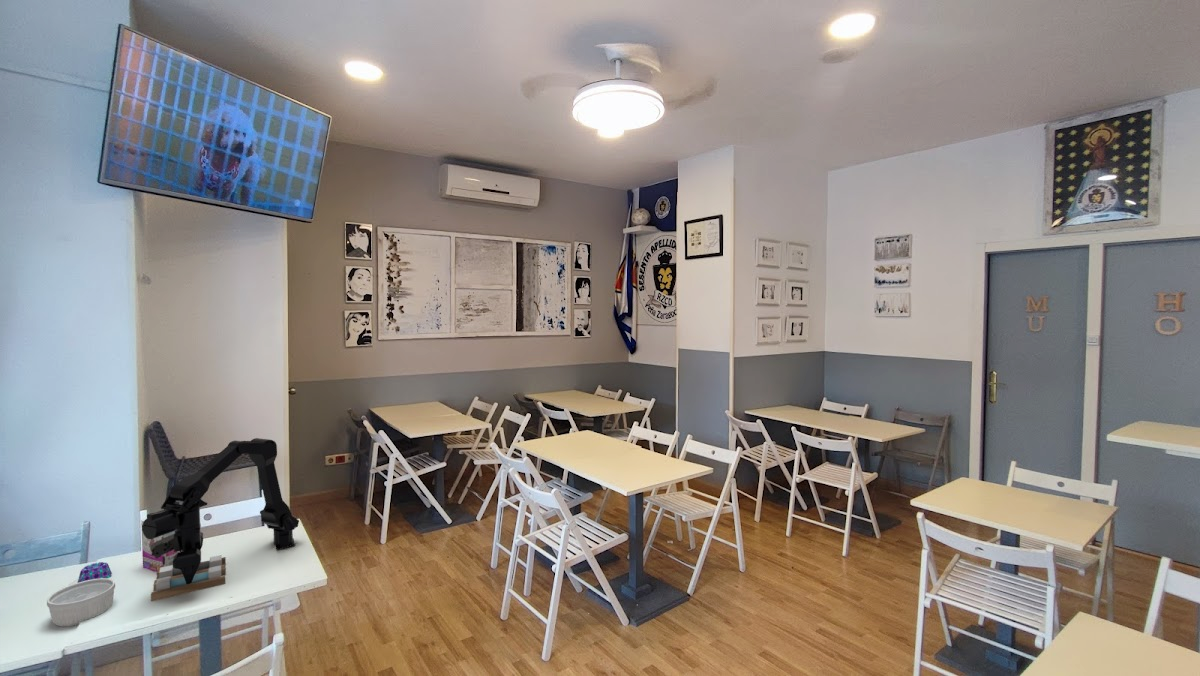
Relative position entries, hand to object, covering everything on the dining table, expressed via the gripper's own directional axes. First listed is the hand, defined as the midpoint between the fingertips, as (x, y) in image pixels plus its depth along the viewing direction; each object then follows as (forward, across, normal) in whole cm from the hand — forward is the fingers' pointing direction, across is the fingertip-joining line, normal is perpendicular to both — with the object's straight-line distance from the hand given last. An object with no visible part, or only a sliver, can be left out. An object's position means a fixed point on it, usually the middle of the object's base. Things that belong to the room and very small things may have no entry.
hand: (189, 576), depth 157 cm
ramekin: (+4, 0, -23) cm, 23 cm away
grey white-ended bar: (+3, -8, 0) cm, 9 cm away
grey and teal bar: (+3, 0, 0) cm, 3 cm away
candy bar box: (+4, -19, -8) cm, 21 cm away
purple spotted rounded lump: (+4, -21, -24) cm, 32 cm away
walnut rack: (+4, -4, 0) cm, 6 cm away
